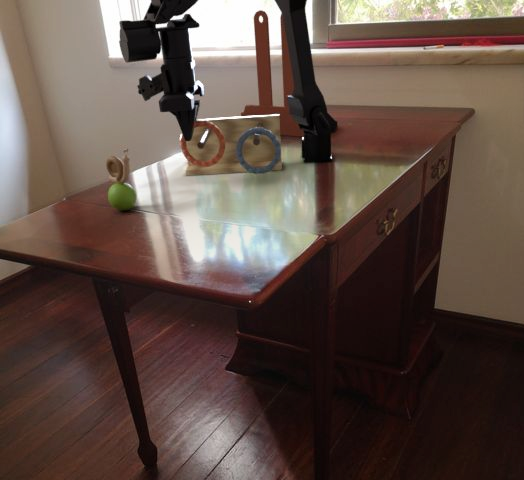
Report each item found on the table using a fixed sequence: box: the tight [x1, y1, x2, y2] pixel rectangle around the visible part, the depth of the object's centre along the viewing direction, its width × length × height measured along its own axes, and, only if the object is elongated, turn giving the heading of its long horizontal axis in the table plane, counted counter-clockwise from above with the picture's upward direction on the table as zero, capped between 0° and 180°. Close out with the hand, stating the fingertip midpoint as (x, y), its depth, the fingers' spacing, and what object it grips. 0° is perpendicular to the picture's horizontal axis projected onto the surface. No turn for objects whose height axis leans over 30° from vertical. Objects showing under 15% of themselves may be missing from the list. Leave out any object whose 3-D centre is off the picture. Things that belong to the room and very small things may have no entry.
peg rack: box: [185, 114, 283, 176], centre depth 122 cm, size 22×17×11 cm
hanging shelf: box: [240, 10, 338, 137], centre depth 152 cm, size 24×13×30 cm, turn 58°
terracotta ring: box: [179, 120, 225, 167], centre depth 117 cm, size 9×1×9 cm, turn 87°
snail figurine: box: [105, 148, 137, 212], centre depth 107 cm, size 5×6×12 cm
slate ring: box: [236, 128, 282, 175], centre depth 117 cm, size 9×1×9 cm, turn 88°
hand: (188, 140), depth 116 cm, fingers closed on terracotta ring, 1 cm apart
